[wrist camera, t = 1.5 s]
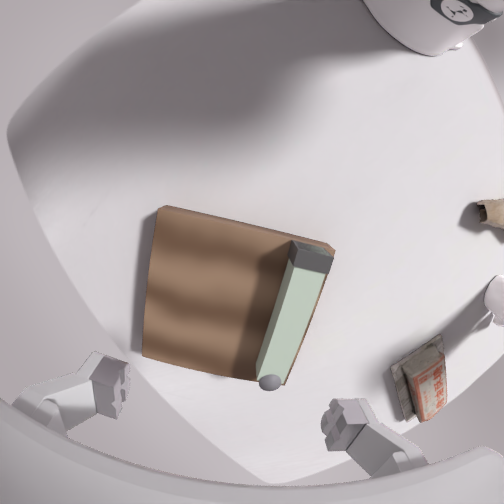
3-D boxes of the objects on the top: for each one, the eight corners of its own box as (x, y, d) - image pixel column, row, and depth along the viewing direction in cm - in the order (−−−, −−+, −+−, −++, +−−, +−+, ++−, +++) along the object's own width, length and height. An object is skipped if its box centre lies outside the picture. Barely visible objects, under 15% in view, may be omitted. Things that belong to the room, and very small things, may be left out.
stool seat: (166, 205, 29) (158, 208, 26) (327, 243, 30) (335, 250, 27) (148, 342, 33) (141, 356, 30) (281, 370, 35) (284, 385, 32)
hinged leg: (278, 373, 31) (281, 392, 28) (251, 369, 31) (252, 388, 28) (323, 247, 27) (334, 257, 24) (291, 239, 27) (298, 248, 24)
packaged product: (400, 384, 32) (454, 346, 31) (387, 365, 36) (438, 331, 35) (412, 434, 36) (455, 405, 35) (403, 418, 41) (444, 391, 40)
